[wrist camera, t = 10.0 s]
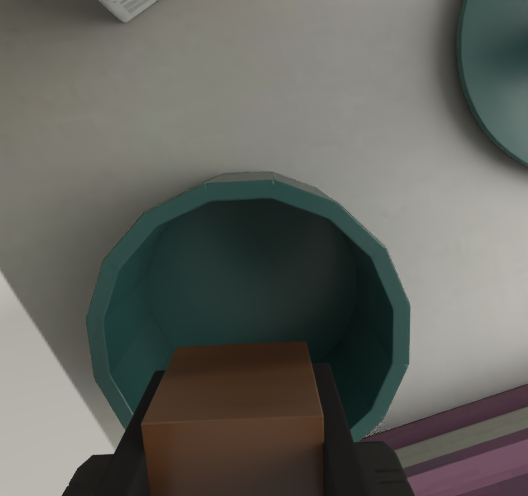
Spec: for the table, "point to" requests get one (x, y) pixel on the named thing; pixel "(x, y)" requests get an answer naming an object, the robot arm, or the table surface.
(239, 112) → the table surface
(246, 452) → the block
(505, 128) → the lid
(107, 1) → the ink box
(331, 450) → the robot arm
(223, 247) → the tin
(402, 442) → the book
